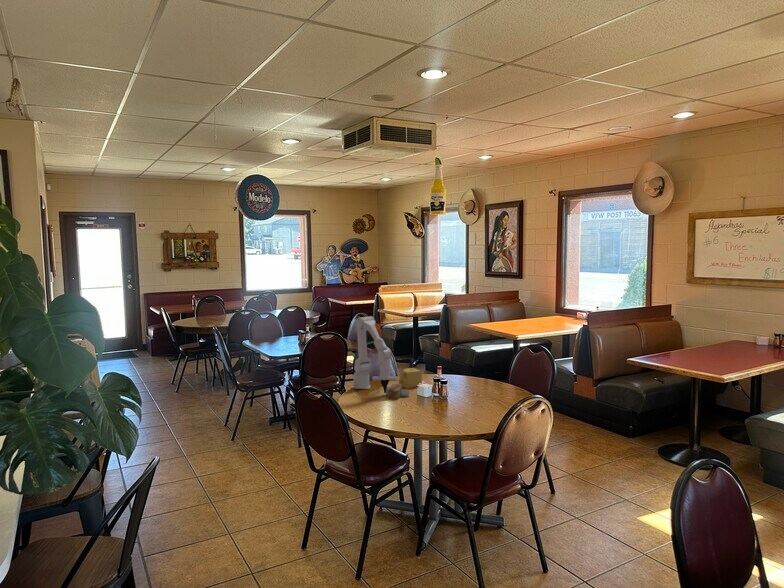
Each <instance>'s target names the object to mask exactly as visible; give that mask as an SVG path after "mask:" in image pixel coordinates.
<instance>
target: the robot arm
mask: <svg viewBox="0 0 784 588" xmlns="http://www.w3.org/2000/svg"><path fill="white" fill-rule="evenodd" d="M355 327H356V328H355V329H356V331H357V332H356V333H357V350H358V354H357V355H358V358H356V359H355V360H354V366H353V367H354V368H353V369H354V373H353V383H352V384H353V389H354V390H355V389H356V390H358V389H359V390H369V389H370V388H371V387H372V385H371V384H370V374H371V371H372V370H373V365H372V361H371V359H370V358H369V357H368V349H367V347H368V345H367V344H368V343H367V331H368V332H369V334H370V335H371V337H372V339H373V345H374V347H375V348H376V351H377V352H378V353H377V356H378V361H379V375H378V376H372V378H371V379H372V380H371V381H380V384H381V386H382V389H383V393H384V394H386V388H387V387H388V384H389V383H390V382H399V377H398V376H391V358H392V357H393V352H392V350H391V348H389V347H388V346H387V345H386V343H385V340H384V339H383V338H381V336H380V335H379V333H378V330H377V328H376V319H375V318H374V317H373V315H369V316H363V317H362V316H361V317H357V319H356V320H355Z"/></svg>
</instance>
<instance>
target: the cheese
mask: <svg viewBox="0 0 784 588" xmlns="http://www.w3.org/2000/svg"><path fill="white" fill-rule="evenodd" d="M398 375H399V378H398V384H402V387H403V388H406V389H411V388H417V387H416V386H417V385H418V384H419V383H421V384H422V383H423V382H422V381H423V380H422V379H423V378H422V377H423V376H422V371H421V370H420V369H417V368H415V367H409V368H407V367H406V368H404V369H403V370H401V371H400V372H399V374H398Z"/></svg>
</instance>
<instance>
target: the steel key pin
mask: <svg viewBox="0 0 784 588" xmlns="http://www.w3.org/2000/svg"><path fill="white" fill-rule="evenodd" d="M390 387H391V386H387V388H386V393H385V397H387V398H388V390H389V388H390ZM400 397H410V389H403V388H402V389H400Z"/></svg>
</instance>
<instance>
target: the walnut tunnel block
mask: <svg viewBox="0 0 784 588" xmlns="http://www.w3.org/2000/svg"><path fill="white" fill-rule="evenodd" d="M389 387H390V388H389V390H388V397H387V398H388V399H390V400H399V399H400V397H401V396H400V389H403V386H402V384H399V383H398V384H397V383H392V384H391V385H390V386H389Z"/></svg>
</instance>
